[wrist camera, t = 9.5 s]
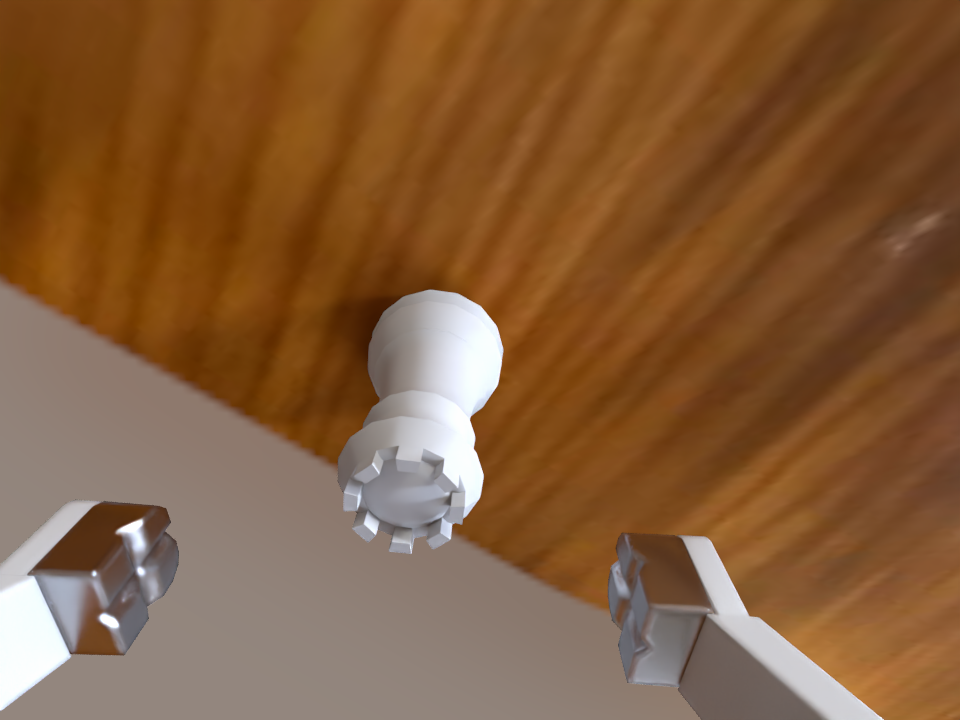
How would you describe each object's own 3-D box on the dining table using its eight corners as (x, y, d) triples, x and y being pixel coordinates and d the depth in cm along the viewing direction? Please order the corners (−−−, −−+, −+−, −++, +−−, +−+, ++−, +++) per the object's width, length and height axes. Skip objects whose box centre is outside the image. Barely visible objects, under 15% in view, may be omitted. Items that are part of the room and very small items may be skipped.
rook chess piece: (521, 309, 17) (545, 455, 10) (478, 417, 19) (472, 604, 12) (391, 266, 17) (317, 387, 9) (360, 381, 19) (278, 556, 11)
